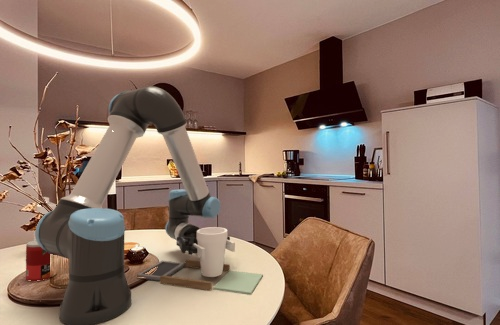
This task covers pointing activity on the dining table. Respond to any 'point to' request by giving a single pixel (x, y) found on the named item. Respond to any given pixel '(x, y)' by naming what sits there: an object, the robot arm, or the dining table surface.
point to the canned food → (37, 262)
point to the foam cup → (212, 250)
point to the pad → (239, 282)
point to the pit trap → (162, 270)
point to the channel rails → (190, 282)
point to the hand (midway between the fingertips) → (219, 250)
